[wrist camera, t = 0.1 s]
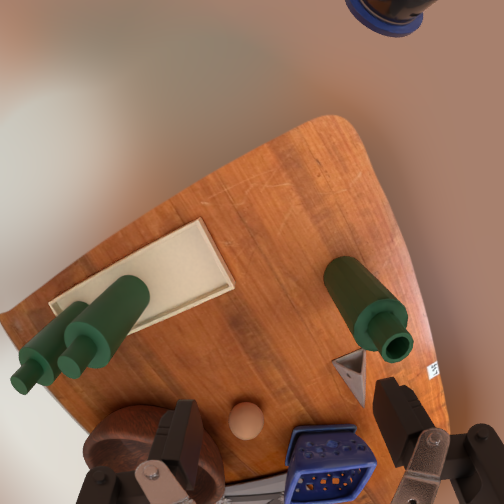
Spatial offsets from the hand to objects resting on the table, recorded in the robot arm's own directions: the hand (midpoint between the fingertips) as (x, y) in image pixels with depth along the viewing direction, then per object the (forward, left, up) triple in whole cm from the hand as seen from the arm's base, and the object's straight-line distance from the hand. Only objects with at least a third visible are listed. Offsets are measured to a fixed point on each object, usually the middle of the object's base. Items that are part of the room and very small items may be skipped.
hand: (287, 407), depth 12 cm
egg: (+26, -5, -28) cm, 39 cm away
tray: (+5, -19, -28) cm, 34 cm away
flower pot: (+37, +7, -28) cm, 47 cm away
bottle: (+5, +10, -28) cm, 30 cm away
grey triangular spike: (+23, +14, -28) cm, 39 cm away
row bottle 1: (+8, -28, -28) cm, 40 cm away
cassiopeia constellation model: (+63, -3, -28) cm, 69 cm away
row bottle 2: (+5, -19, -28) cm, 34 cm away
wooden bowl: (+35, -22, -28) cm, 50 cm away
